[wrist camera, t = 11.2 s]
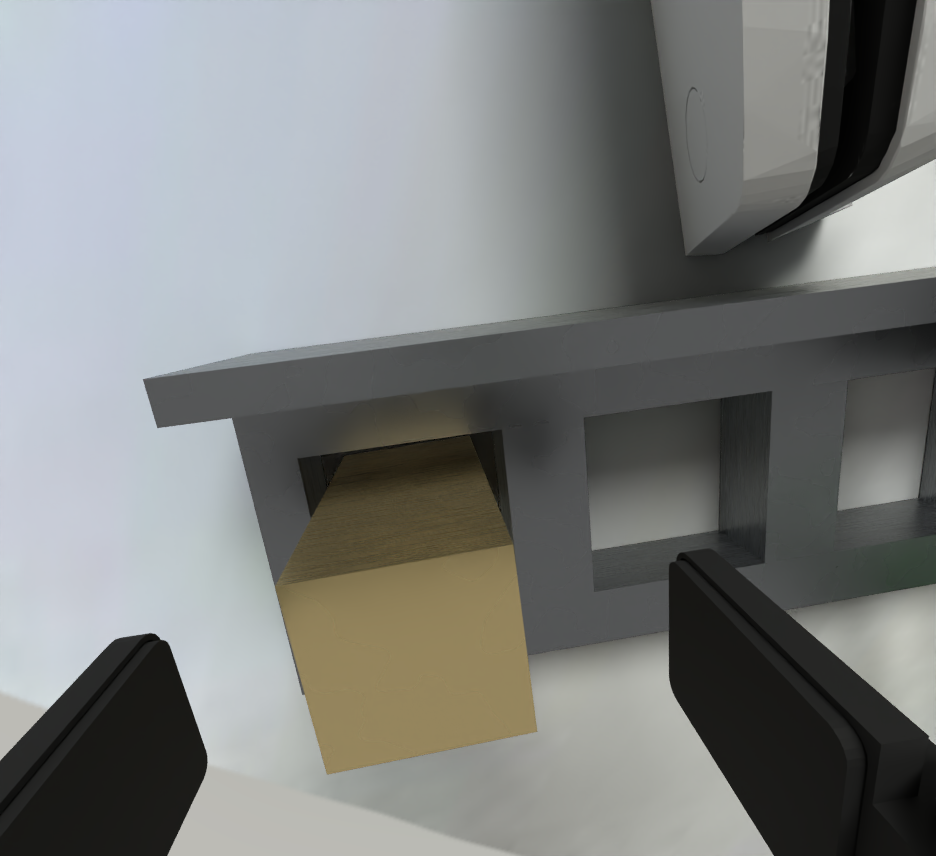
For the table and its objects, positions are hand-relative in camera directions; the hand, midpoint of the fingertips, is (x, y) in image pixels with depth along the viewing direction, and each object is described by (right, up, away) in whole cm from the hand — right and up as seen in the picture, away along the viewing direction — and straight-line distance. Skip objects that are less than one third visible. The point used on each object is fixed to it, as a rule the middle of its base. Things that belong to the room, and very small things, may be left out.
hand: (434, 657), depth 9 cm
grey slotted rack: (+7, +3, +9) cm, 12 cm away
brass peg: (-1, +2, +8) cm, 8 cm away
